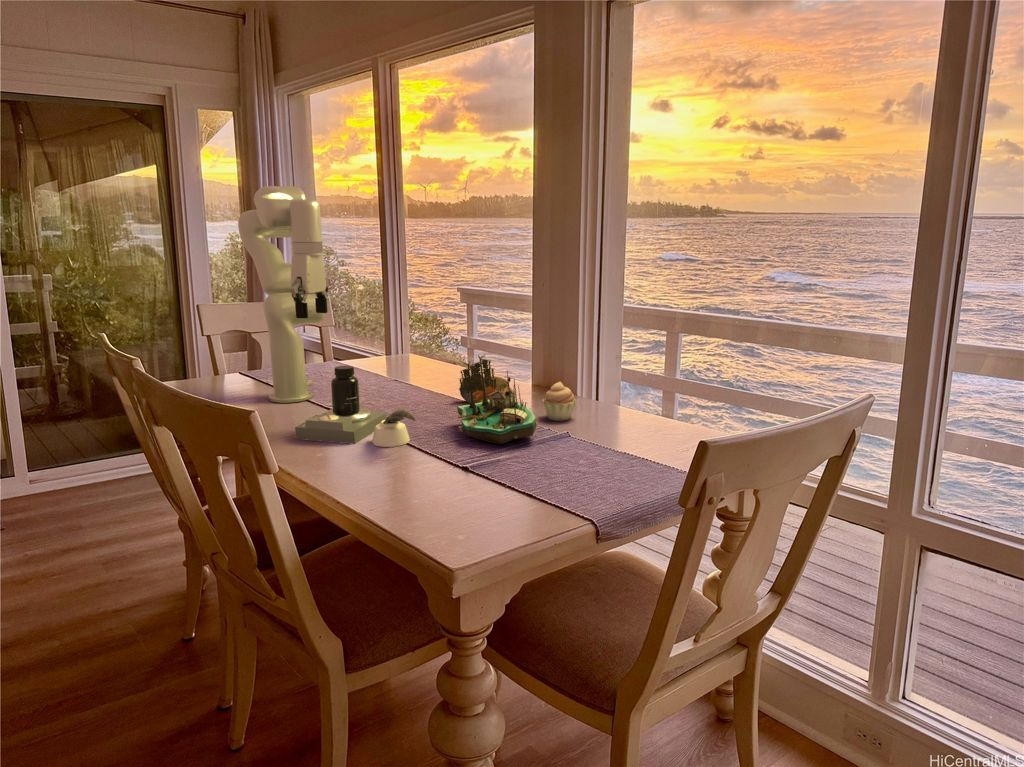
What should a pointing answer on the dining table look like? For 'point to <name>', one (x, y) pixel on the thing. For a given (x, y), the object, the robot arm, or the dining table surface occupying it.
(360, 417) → the scale pan
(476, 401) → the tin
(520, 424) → the diorama
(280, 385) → the robot arm
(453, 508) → the dining table surface
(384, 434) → the inkwell
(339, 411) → the supplement bottle
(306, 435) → the scale
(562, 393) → the cupcake
